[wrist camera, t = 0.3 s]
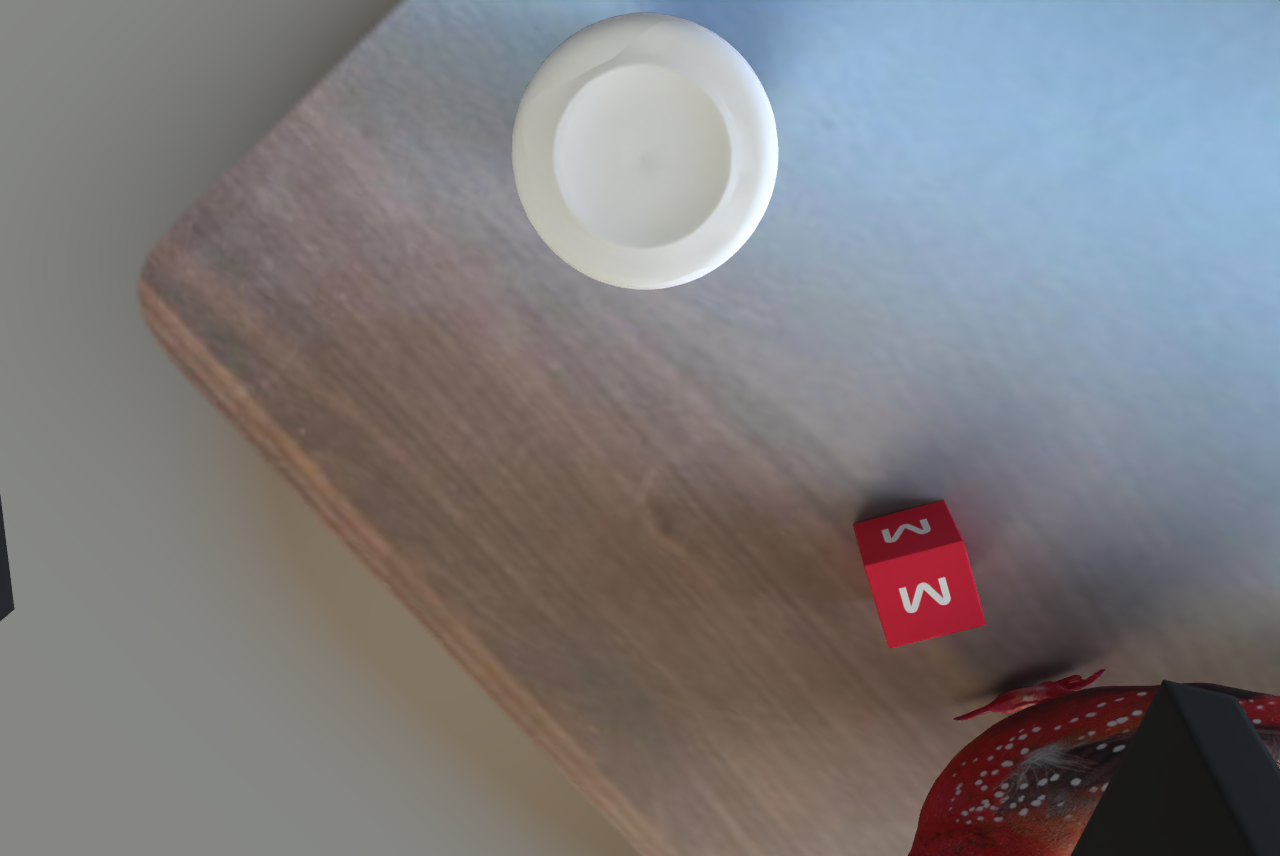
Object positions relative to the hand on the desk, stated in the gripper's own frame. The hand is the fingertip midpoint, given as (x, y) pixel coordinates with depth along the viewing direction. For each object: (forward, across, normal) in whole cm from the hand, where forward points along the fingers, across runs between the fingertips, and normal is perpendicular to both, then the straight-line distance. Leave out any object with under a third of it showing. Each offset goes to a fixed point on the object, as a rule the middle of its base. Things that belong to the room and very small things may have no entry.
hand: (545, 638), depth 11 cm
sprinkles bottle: (+21, -1, +2) cm, 21 cm away
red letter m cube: (+20, +9, -9) cm, 24 cm away
